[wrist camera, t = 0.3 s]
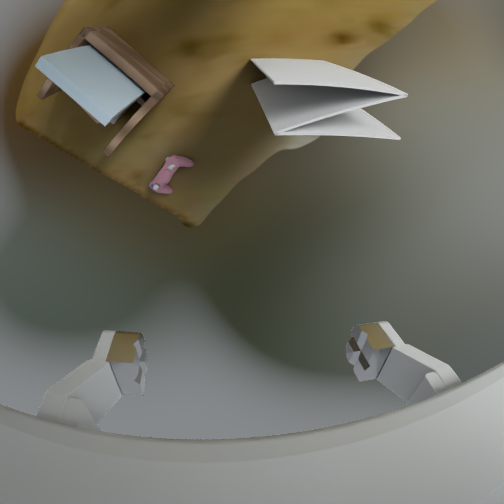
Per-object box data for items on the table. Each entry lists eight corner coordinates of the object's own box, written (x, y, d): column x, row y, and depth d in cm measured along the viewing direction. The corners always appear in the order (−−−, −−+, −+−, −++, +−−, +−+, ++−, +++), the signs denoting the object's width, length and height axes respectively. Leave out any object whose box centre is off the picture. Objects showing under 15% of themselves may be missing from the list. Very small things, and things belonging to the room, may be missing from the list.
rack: (107, 26, 35) (84, 27, 28) (174, 85, 46) (164, 95, 39) (62, 83, 41) (37, 95, 34) (124, 137, 52) (108, 156, 45)
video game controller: (182, 149, 58) (165, 152, 52) (197, 162, 58) (181, 168, 52) (159, 180, 62) (141, 187, 56) (172, 194, 63) (155, 202, 57)
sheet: (109, 42, 38) (41, 56, 20) (156, 83, 45) (112, 117, 28) (104, 48, 38) (35, 66, 21) (150, 88, 46) (105, 126, 29)
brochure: (250, 85, 48) (273, 135, 26) (250, 58, 44) (273, 81, 22) (322, 85, 48) (400, 139, 27) (323, 60, 45) (407, 94, 23)
